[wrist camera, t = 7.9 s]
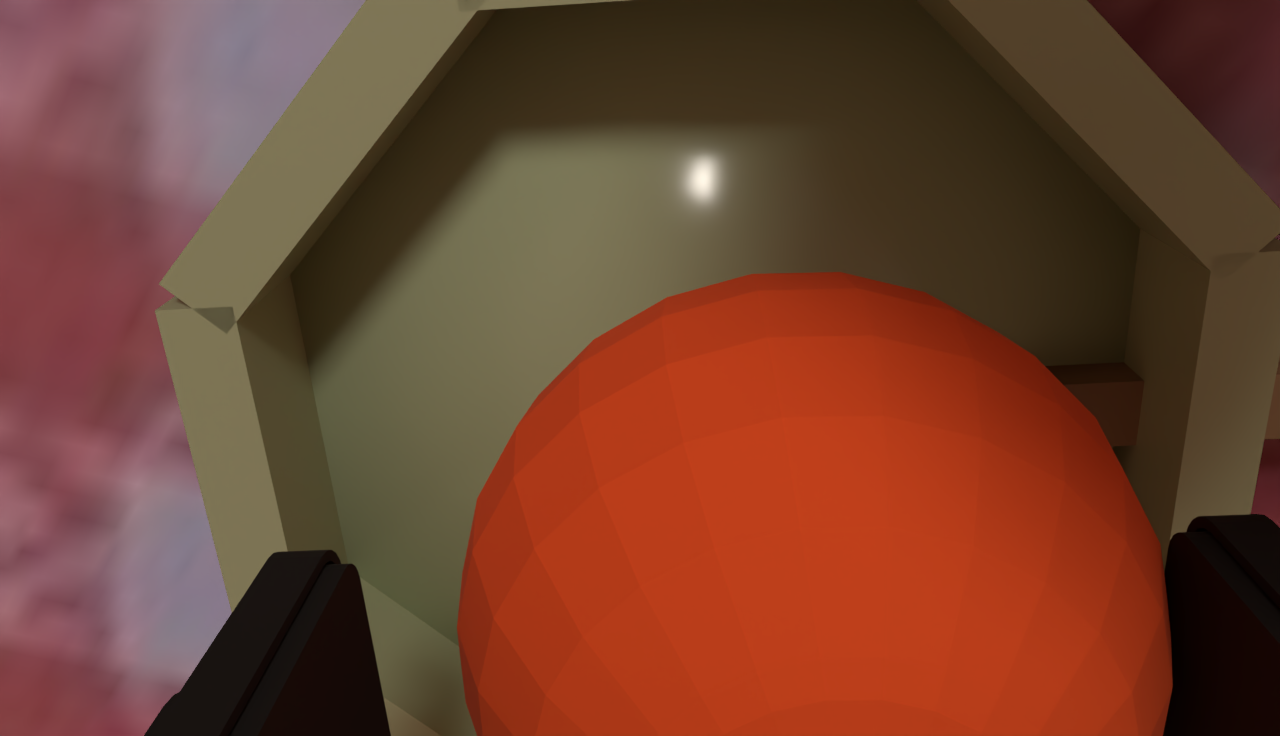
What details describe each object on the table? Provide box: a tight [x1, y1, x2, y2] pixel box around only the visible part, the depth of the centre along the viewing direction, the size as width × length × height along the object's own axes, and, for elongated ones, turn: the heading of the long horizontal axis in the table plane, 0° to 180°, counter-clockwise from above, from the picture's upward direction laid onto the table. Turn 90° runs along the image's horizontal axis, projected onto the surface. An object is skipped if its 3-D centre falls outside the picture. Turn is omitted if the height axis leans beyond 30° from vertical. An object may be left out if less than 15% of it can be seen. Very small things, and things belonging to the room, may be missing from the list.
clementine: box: [457, 272, 1173, 736], centre depth 11 cm, size 8×7×7 cm
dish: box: [155, 0, 1280, 736], centre depth 15 cm, size 14×14×3 cm
